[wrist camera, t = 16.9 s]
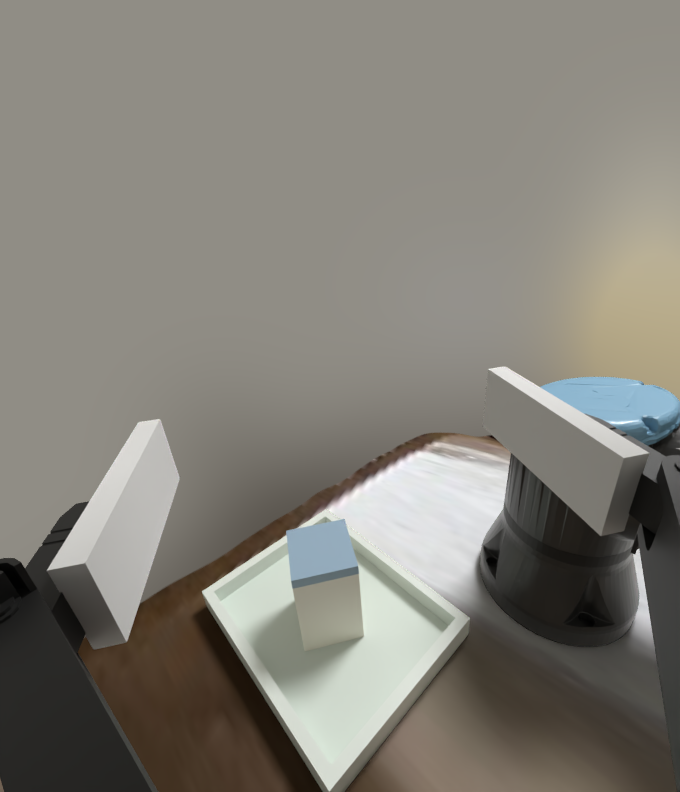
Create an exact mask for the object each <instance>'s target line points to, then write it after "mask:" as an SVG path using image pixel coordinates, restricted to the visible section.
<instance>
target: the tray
mask: <svg viewBox="0 0 680 792" xmlns="http://www.w3.org/2000/svg"><path fill="white" fill-rule="evenodd" d="M336 520H340V519H339V518H338V517H336V516H335V515H334V514H333V513H331V512H330V511H329V510H327V509H326V510H324V511H323V512H321V513H320V514H318V515H316V516H315V517H313V518H312V519H310V520H309V521H307V522H306V523H304V524H303V525H301V526H300V527H298V528H302V527H307V526H312V525H317V524H322V523H327V522H332V521H336ZM346 526H347V529H348V533H349V536H350V540H351V543H352V546H353V550H354V553H355V557H356V560H357V563H358V569H359V581H360V594H361V606H362V618H363V631H364V637H360V638H356V639H352V640H349V641H345V642H341V643H337V644H333V645H329V646H325V647H321V648H317V649H313V650H309V651H304V646H303V641H302V635H301V630H300V625H299V620H298V615H297V610H296V604H295V599H294V594H293V589H292V584H291V576H290V565H289V554H288V544H287V535H286V536H285V537H283V538H282V539H280V540H279V541H277V542H276V543H274V544H273V545H271V546H270V547H268V548H267V549H265V550H264V551H262V552H261V553H259V554H258V555H256V556H255V557H253V558H252V559H250V560H249V561H247V562H246V563H244V564H243V565H241V566H240V567H238V568H237V569H235V570H234V571H232V572H231V573H229V574H228V575H226V576H225V577H223V578H222V579H220V580H219V581H217V582H216V583H214V584H213V585H211V586H210V587H208V588H207V589H205V590H204V591H202V594H203V597H204V600H205V603H206V605H207V608H208V609H209V611H210V612H211V614H212V616H213V617H214V619H215V620H216V622H217V624H218V625H219V627H220V628H221V630H222V632H223V633H224V635H225V636H226V638H227V640H228V641H229V643H230V644H231V646H232V648H233V649H234V651H235V652H236V654H237V655H238V657H239V659H240V660H241V662H242V663H243V665H244V667H245V668H246V670H247V671H248V673H249V675H250V676H251V678H252V679H253V681H254V683H255V684H256V686H257V687H258V689H259V691H260V692H261V694H262V695H263V697H264V699H265V700H266V702H267V703H268V705H269V707H270V708H271V710H272V711H273V713H274V715H275V716H276V718H277V719H278V721H279V723H280V724H281V726H282V727H283V729H284V731H285V732H286V734H287V735H288V737H289V739H290V740H291V742H292V743H293V745H294V747H295V748H296V750H297V751H298V753H299V755H300V756H301V758H302V759H303V761H304V762H305V764H306V766H307V767H308V769H309V770H310V772H311V774H312V775H313V777H314V778H315V780H316V782H317V783H318V785H319V786H320V788H321V790H322V791H323V792H345V790H346V789H347V788H348V787H349V785H350V784H351V783H352V782H353V780H354V779H355V778H356V776H357V775H358V774H359V773H360V771H361V770H362V769H363V768H364V766H365V765H366V764H367V762H368V761H369V760H370V759H371V757H372V756H373V755H374V754H375V752H376V751H377V750H378V749H379V747H380V746H381V745H382V743H383V742H384V741H385V740H386V738H387V737H388V736H389V735H390V733H391V732H392V731H393V729H394V728H395V727H396V726H397V724H398V723H399V722H400V721H401V719H402V718H403V717H404V716H405V714H406V713H407V712H408V710H409V709H410V708H411V707H412V705H413V704H414V703H415V702H416V700H417V699H418V698H419V696H420V695H421V694H422V693H423V691H424V690H425V689H426V688H427V686H428V685H429V684H430V683H431V681H432V680H433V679H434V677H435V676H436V675H437V674H438V672H439V671H440V670H441V669H442V667H443V666H444V665H445V663H446V662H447V661H448V660H449V658H450V657H451V656H452V655H453V653H454V652H455V651H456V649H457V648H458V647H459V646H460V644H461V643H462V642H463V641H464V639H465V638H466V637H467V636H468V634H469V625H470V617H468V616H467V615H466V614H464V613H463V612H462V611H460V610H459V609H458V608H456V607H455V606H454V605H452V604H451V603H450V602H448V601H447V600H446V599H444V598H443V597H442V596H441V595H439V594H438V593H437V592H435V591H434V590H433V589H431V588H430V587H429V586H427V585H426V584H425V583H423V582H422V581H421V580H419V579H418V578H417V577H416V576H414V575H413V574H412V573H410V572H409V571H408V570H406V569H405V568H404V567H402V566H401V565H400V564H398V563H397V562H396V561H394V560H393V559H392V558H390V557H389V556H388V555H387V554H385V553H384V552H383V551H381V550H380V549H379V548H377V547H376V546H375V545H373V544H372V543H371V542H369V541H368V540H367V539H365V538H364V537H363V536H361V535H360V534H359V533H358V532H356V531H355V530H354V529H352V528H351V527H350V526H348V525H347V524H346Z"/></svg>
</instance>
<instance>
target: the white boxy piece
mask: <svg viewBox="0 0 680 792" xmlns="http://www.w3.org/2000/svg"><path fill="white" fill-rule="evenodd" d="M286 533H287V544H288V554H289V565H290V576H291V584H292V589H293V594H294V599H295V604H296V610H297V615H298V620H299V625H300V630H301V635H302V641H303V646H304V651H309V650H313V649H317V648H321V647H325V646H329V645H333V644H337V643H341V642H345V641H349V640H352V639H356V638H360V637H364V631H363V618H362V606H361V594H360V581H359V569H358V563H357V560H356V557H355V553H354V550H353V546H352V543H351V540H350V536H349V533H348V529H347V526H346V523H345V519H341V520H336V521H332V522H327V523H322V524H317V525H312V526H307V527H302V528H297V529H292V530H288V531H286Z"/></svg>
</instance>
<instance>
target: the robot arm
mask: <svg viewBox="0 0 680 792" xmlns="http://www.w3.org/2000/svg"><path fill="white" fill-rule="evenodd" d="M483 427H484V428H485V429H486V430H487V431H488V432H489V433H491V434H492V435H493V436H494V437H495V438H496V439H497V440H498V441H499V442H500V443H501V444H502V445H503V446H505V447H506V448H507V449H508V450H509V451H510V452H511V458H510V465H509V473H508V480H507V487H506V494H505V502H504V508H503V510H502V511H501V513H500V514H499V516H498V517H497V519H496V520H495V522H494V523H493V525H492V526H491V528H490V529H489V531H488V532H487V534H486V536H485V538H484V541H483V544H482V549H481V557H480V570H481V575H482V578H483V581H484V583H485V586H486V588H487V589H488V591H489V593H490V594H491V596H492V597H493V599H494V600H495V601H496V603H497V604H498V605H499V606H500V607H501V608H502V609H503V610H504V611H505V612H506V613H507V614H508V615H509V616H511V617H512V618H513V619H514V620H516V621H517V622H518V623H520V624H521V625H523V626H524V627H526V628H527V629H529V630H531V631H533V632H535V633H536V634H538V635H541V636H543V637H545V638H548V639H550V640H553V641H556V642H560V643H563V644H568V645H573V646H583V647H592V646H601V645H605V644H609V643H612V642H614V641H616V640H618V639H619V638H621V637H622V636H623V635H624V634H625V633H626V632H627V631H628V630H629V628H630V627H631V625H632V622H633V620H634V617H635V614H636V612H637V609H638V605H639V589H638V583H637V576H636V570H635V564H634V558H633V554H635V553H636V551H637V549H640V555H641V562H642V568H643V574H644V581H645V587H646V594H647V600H648V607H649V613H650V619H651V626H652V632H653V639H654V645H655V652H656V658H657V664H658V671H659V677H660V684H661V690H662V697H663V703H664V709H665V716H666V722H667V729H668V735H669V742H670V748H671V754H672V761H673V767H674V774H675V780H676V787H677V792H680V402H679V400H678V399H677V398H676V397H675V396H674V395H673V394H672V393H670V392H669V391H667V390H665V389H663V388H660V387H658V386H655V385H644V384H643V382H641V381H636V380H630V379H623V378H613V377H582V378H572V379H565V380H560V381H557V382H553V383H549V384H546V385H544V386H541V387H539V386H537V385H535V384H533V383H532V382H530V381H528V380H527V379H525V378H524V377H522V376H520V375H518V374H517V373H515V372H513V371H512V370H510V369H508V368H507V367H498V368H493V369H488V376H487V386H486V397H485V407H484V418H483ZM179 479H180V478H179V475H178V472H177V469H176V466H175V463H174V460H173V457H172V454H171V451H170V448H169V444H168V442H167V438H166V435H165V432H164V429H163V426H162V423H161V420H160V419H157V420H150V421H143V422H138V424H137V426H136V428H135V429H134V431H133V432H132V434H131V435H130V437H129V438H128V440H127V442H126V444H125V445H124V447H123V448H122V450H121V452H120V453H119V455H118V456H117V458H116V459H115V461H114V463H113V465H112V466H111V468H110V469H109V471H108V472H107V474H106V476H105V477H104V479H103V481H102V482H101V484H100V485H99V487H98V489H97V490H96V492H95V494H94V495H93V497H92V498H91V500H90V501H89V502H84V503H78V504H75V505H74V506H73V507H72V508H71V509H69V511H67V512H66V513H65V514H64V515H62V517H60V518H59V520H58V521H57V523H56V524H55V526H54V527H53V529H52V530H51V534H49V535H48V536H47V538H46V539H45V540H44V542H43V543H42V544H43V545H42V546H41V547H40V548H39V549H38V551H37V552H36V553H35V555H34V556H33V558H32V559H31V561H30V562H29V564H28V565H27V567H26V568H24V567H23V565H22V563H21V562H20V561H18V560H16V559H15V558H3V559H0V778H1V782H2V785H3V789H4V792H158V791H157V789H156V787H155V786H154V784H153V782H152V780H151V779H150V777H149V775H148V773H147V772H146V770H145V768H144V766H143V765H142V763H141V761H140V759H139V758H138V756H137V754H136V753H135V751H134V749H133V747H132V746H131V744H130V742H129V740H128V739H127V737H126V735H125V733H124V732H123V730H122V728H121V727H120V725H119V723H118V721H117V720H116V718H115V716H114V714H113V713H112V711H111V709H110V707H109V706H108V704H107V702H106V700H105V699H104V697H103V695H102V694H101V692H100V690H99V688H98V687H97V685H96V683H95V681H94V680H93V678H92V676H91V674H90V673H89V671H88V669H87V667H86V666H85V664H84V662H83V661H82V659H81V657H80V656H79V654H78V650H79V647H80V645H81V643H82V640H83V638H84V636H86V638H87V639H88V641H89V643H90V644H91V646H92V648H93V649H99V648H103V647H108V646H112V645H117V644H121V643H126V642H127V640H128V637H129V634H130V631H131V628H132V625H133V622H134V618H135V615H136V612H137V609H138V606H139V603H140V600H141V597H142V594H143V591H144V587H145V584H146V581H147V578H148V575H149V572H150V569H151V566H152V563H153V560H154V557H155V553H156V550H157V547H158V544H159V541H160V538H161V535H162V532H163V529H164V526H165V522H166V519H167V516H168V513H169V510H170V507H171V504H172V501H173V498H174V495H175V491H176V488H177V485H178V482H179Z"/></svg>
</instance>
